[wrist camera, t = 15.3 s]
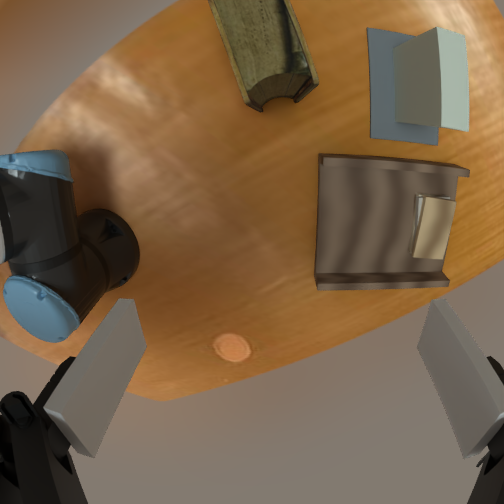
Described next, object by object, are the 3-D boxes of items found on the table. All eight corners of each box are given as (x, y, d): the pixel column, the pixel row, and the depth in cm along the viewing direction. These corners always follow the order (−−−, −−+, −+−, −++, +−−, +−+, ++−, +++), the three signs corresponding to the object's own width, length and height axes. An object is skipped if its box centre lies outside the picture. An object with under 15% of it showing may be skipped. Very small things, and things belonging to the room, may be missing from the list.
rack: (314, 275, 53) (317, 290, 48) (318, 153, 44) (323, 157, 40) (437, 273, 51) (448, 286, 46) (454, 164, 43) (469, 170, 38)
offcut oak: (410, 254, 46) (413, 257, 45) (423, 195, 42) (426, 196, 41) (440, 256, 46) (442, 259, 45) (453, 200, 42) (456, 201, 41)
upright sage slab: (394, 121, 41) (441, 126, 27) (392, 48, 36) (436, 26, 22) (417, 124, 40) (468, 131, 27) (415, 53, 36) (464, 35, 22)
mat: (369, 137, 43) (370, 138, 42) (366, 28, 35) (367, 27, 35) (436, 145, 42) (437, 145, 41) (434, 41, 34) (435, 41, 34)
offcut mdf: (412, 254, 47) (414, 257, 46) (416, 196, 43) (418, 197, 42) (441, 251, 46) (444, 254, 46) (447, 195, 42) (450, 197, 42)
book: (227, 18, 37) (182, -62, 14) (263, 8, 36) (249, -82, 13) (261, 112, 43) (244, 105, 20) (297, 103, 42) (321, 85, 19)
